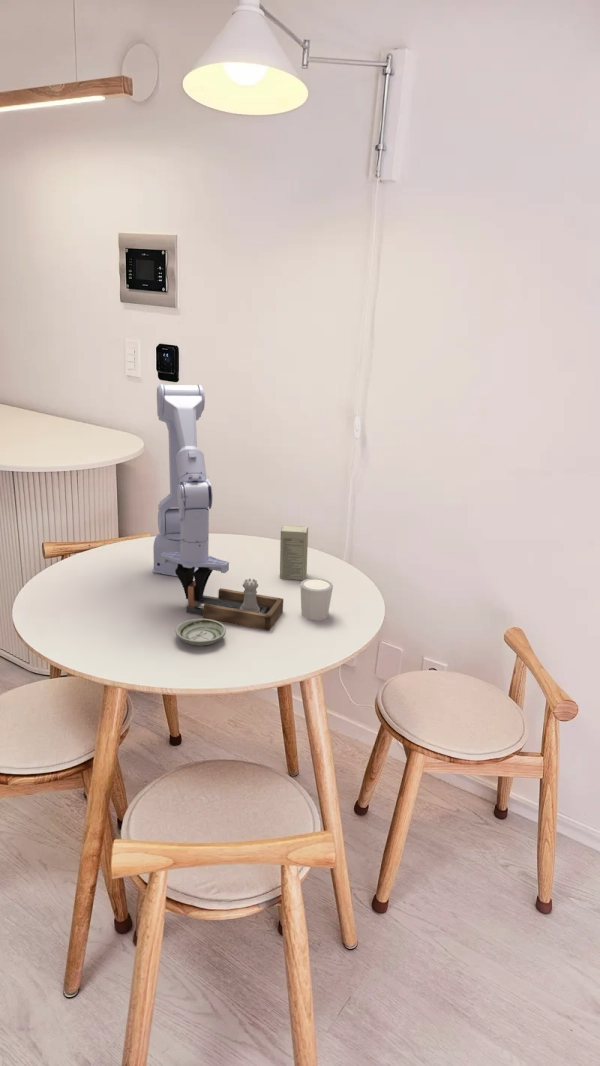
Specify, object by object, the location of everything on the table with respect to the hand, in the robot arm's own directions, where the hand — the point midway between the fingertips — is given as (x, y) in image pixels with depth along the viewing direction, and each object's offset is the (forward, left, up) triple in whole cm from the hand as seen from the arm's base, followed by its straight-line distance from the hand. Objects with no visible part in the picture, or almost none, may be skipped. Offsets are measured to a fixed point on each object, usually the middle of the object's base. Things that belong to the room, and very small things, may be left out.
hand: (194, 598), depth 148 cm
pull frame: (+8, 0, -2) cm, 8 cm away
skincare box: (+15, +24, -2) cm, 28 cm away
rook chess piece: (+12, 0, -2) cm, 13 cm away
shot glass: (+25, +6, -2) cm, 26 cm away
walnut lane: (+11, 0, -2) cm, 11 cm away
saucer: (+7, -13, -2) cm, 15 cm away
